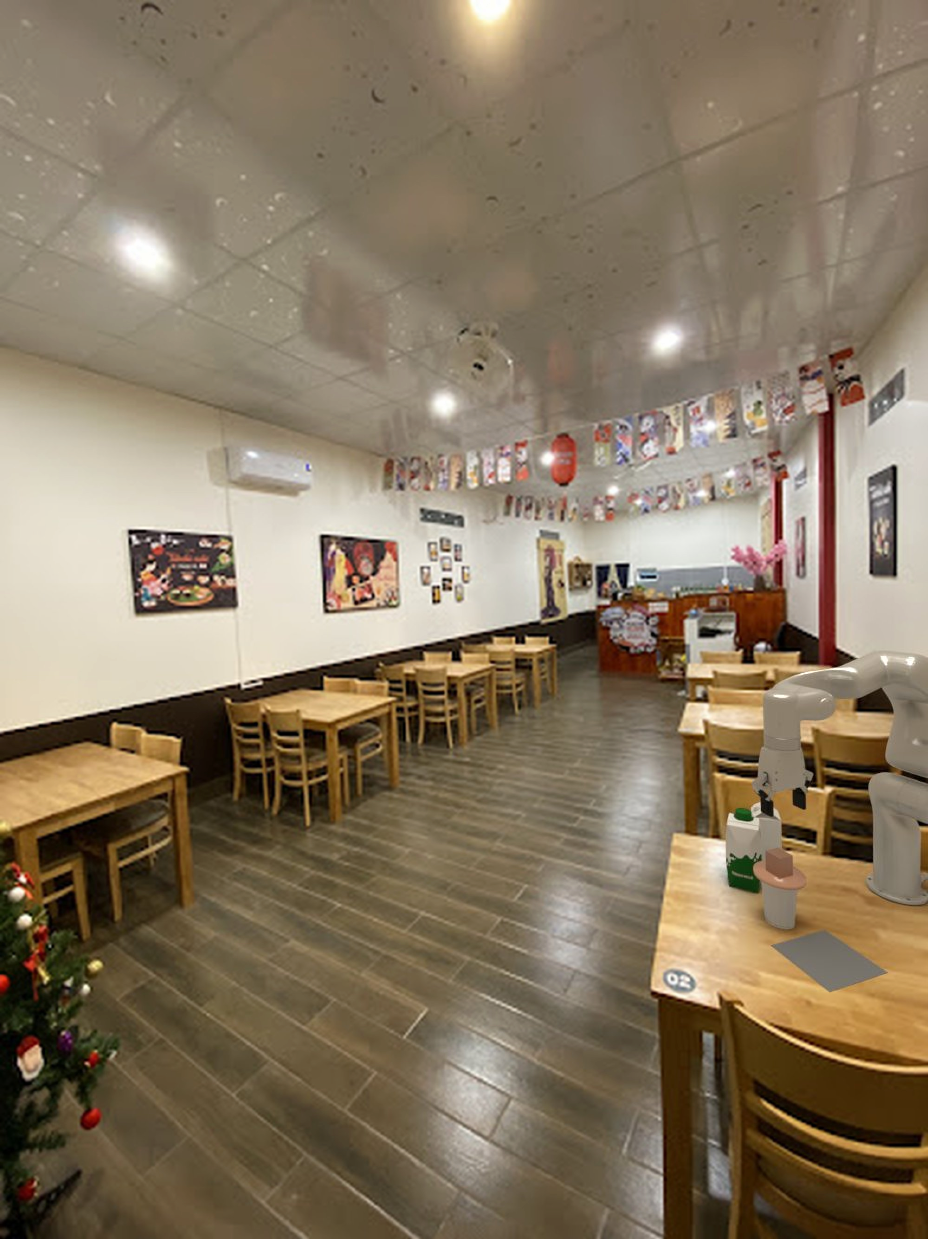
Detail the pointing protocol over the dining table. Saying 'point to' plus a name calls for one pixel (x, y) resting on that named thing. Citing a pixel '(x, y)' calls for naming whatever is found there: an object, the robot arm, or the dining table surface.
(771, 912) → the cup
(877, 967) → the mat
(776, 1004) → the dining table surface
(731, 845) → the soya milk
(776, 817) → the milk carton
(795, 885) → the lid
